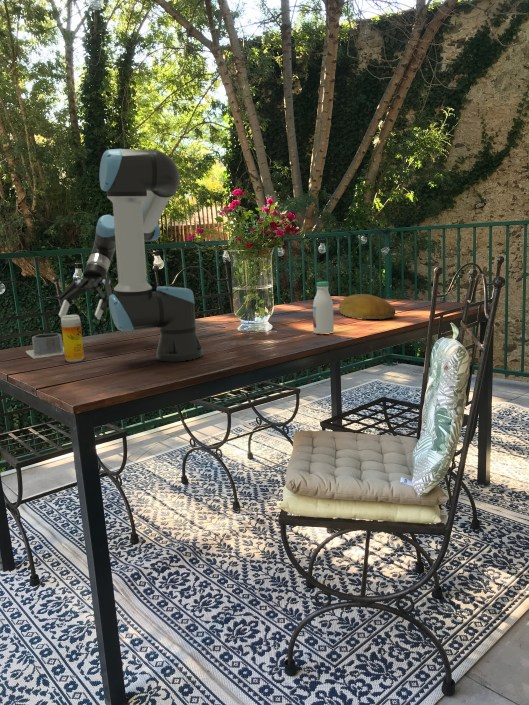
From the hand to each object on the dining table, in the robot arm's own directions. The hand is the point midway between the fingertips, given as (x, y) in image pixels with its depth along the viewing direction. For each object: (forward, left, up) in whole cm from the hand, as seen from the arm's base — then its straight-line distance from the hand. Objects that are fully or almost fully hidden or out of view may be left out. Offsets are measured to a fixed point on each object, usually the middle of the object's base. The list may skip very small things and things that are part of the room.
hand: (79, 317), depth 197 cm
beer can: (-5, +4, -14) cm, 15 cm away
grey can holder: (+15, +8, -13) cm, 22 cm away
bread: (-1, -128, -14) cm, 128 cm away
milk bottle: (-24, -86, -14) cm, 90 cm away
